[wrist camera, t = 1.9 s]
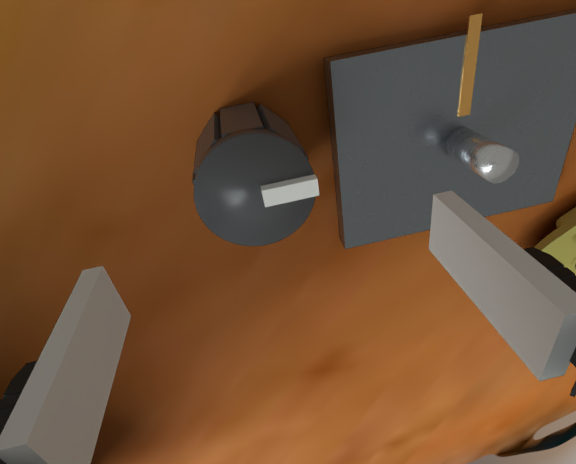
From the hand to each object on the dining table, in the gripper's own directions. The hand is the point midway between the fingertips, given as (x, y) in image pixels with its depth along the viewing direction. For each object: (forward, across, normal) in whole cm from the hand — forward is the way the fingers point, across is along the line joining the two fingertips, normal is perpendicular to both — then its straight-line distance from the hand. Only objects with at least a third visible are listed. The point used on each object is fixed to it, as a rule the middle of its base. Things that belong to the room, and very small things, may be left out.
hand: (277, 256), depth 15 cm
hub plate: (+13, +15, -2) cm, 20 cm away
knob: (+13, 0, 0) cm, 13 cm away
